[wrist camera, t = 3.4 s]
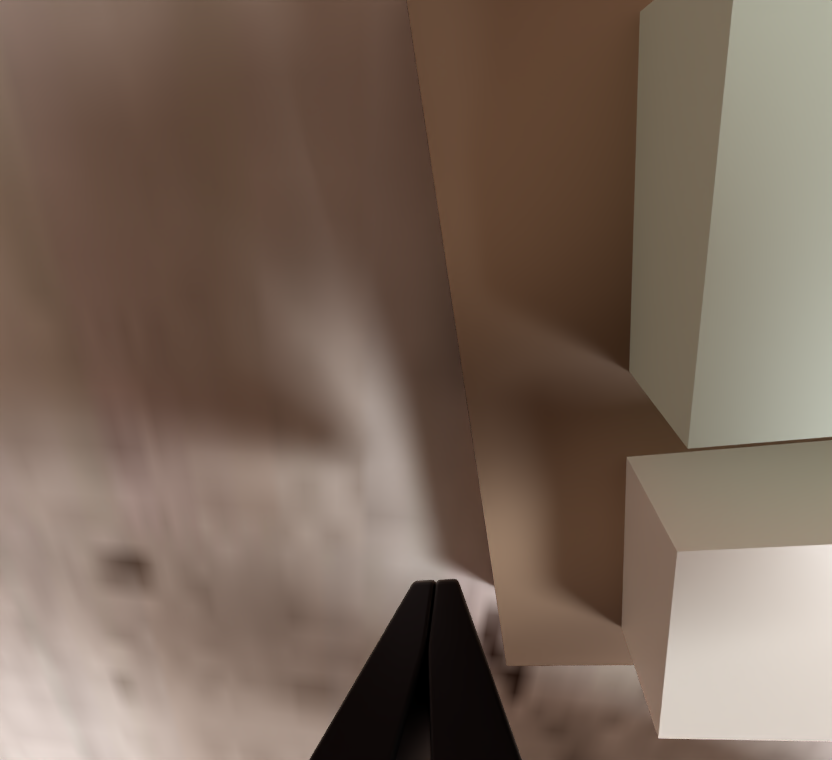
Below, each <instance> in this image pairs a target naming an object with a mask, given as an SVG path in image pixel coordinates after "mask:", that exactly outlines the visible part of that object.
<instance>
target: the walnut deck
mask: <svg viewBox="0 0 832 760" xmlns="http://www.w3.org/2000/svg"><path fill="white" fill-rule="evenodd" d="M406 1H407V7H408V14H409V21H410V27H411V34H412V41H413V47H414V54H415V61H416V67H417V74H418V81H419V87H420V94H421V101H422V107H423V114H424V120H425V127H426V134H427V140H428V147H429V154H430V160H431V167H432V174H433V180H434V187H435V194H436V200H437V207H438V214H439V220H440V227H441V234H442V240H443V247H444V253H445V260H446V267H447V273H448V280H449V287H450V293H451V300H452V307H453V313H454V320H455V327H456V333H457V340H458V347H459V353H460V360H461V367H462V373H463V380H464V386H465V393H466V400H467V406H468V413H469V420H470V426H471V433H472V440H473V446H474V453H475V460H476V466H477V473H478V480H479V486H480V493H481V500H482V506H483V513H484V519H485V526H486V533H487V539H488V546H489V553H490V559H491V566H492V573H493V579H494V586H495V593H496V599H497V606H498V613H499V619H500V626H501V633H502V639H503V646H504V653H505V659H506V666H553V665H634V663H633V660H632V657H631V654H630V651H629V648H628V645H627V642H626V639H625V636H624V633H623V630H622V596H623V562H624V528H625V495H626V461H627V457H632V456H644V455H656V454H669V453H681V452H693V451H705V450H717V449H730V448H742V447H754V446H766V445H778V444H791V443H803V442H815V441H827V440H832V437H822V438H810V439H798V440H786V441H774V442H762V443H750V444H738V445H726V446H713V447H701V448H689V449H688V448H687V447H686V446H685V444H684V443H683V442H682V441H681V439H680V438H679V437H678V435H677V434H676V433H675V431H674V430H673V429H672V427H671V426H670V425H669V423H668V422H667V421H666V419H665V418H664V417H663V415H662V414H661V413H660V411H659V410H658V409H657V407H656V406H655V405H654V404H653V402H652V401H651V400H650V398H649V397H648V396H647V394H646V393H645V392H644V390H643V389H642V388H641V386H640V385H639V384H638V382H637V381H636V380H635V378H634V377H633V376H632V374H631V373H630V372H629V361H630V327H631V294H632V260H633V227H634V193H635V160H636V126H637V93H638V59H639V25H640V11H642V10H643V9H644V8H645V7H646V6H648V5H649V4H650V3H651V2H652V1H654V0H406Z"/></svg>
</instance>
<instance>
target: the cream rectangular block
mask: <svg viewBox="0 0 832 760" xmlns="http://www.w3.org/2000/svg"><path fill="white" fill-rule="evenodd" d="M622 630H623V633H624V636H625V639H626V642H627V645H628V648H629V651H630V654H631V657H632V660H633V663H634V666H635V669H636V672H637V675H638V678H639V682H640V685H641V688H642V691H643V694H644V697H645V700H646V703H647V706H648V709H649V712H650V715H651V718H652V721H653V724H654V727H655V730H656V733H657V736H658V738H663V739H715V740H767V741H819V742H832V440H827V441H815V442H803V443H791V444H778V445H766V446H754V447H742V448H730V449H717V450H705V451H693V452H681V453H669V454H656V455H644V456H632V457H627V461H626V495H625V528H624V562H623V596H622Z"/></svg>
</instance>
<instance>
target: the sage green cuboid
mask: <svg viewBox="0 0 832 760" xmlns="http://www.w3.org/2000/svg"><path fill="white" fill-rule="evenodd" d="M629 372H630V373H631V374H632V376H633V377H634V378H635V380H636V381H637V382H638V384H639V385H640V386H641V388H642V389H643V390H644V392H645V393H646V394H647V396H648V397H649V398H650V400H651V401H652V402H653V404H654V405H655V406H656V407H657V409H658V410H659V411H660V413H661V414H662V415H663V417H664V418H665V419H666V421H667V422H668V423H669V425H670V426H671V427H672V429H673V430H674V431H675V433H676V434H677V435H678V437H679V438H680V439H681V441H682V442H683V443H684V444H685V446H686V447H687V448H688V449H689V448H701V447H713V446H726V445H738V444H750V443H762V442H774V441H786V440H798V439H810V438H822V437H832V0H654V1H652V2H651V3H650V4H649V5H648V6H646V7H645V8H644V9H643V10H642V11H640V25H639V59H638V93H637V126H636V160H635V193H634V227H633V260H632V294H631V327H630V361H629Z"/></svg>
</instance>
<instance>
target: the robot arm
mask: <svg viewBox="0 0 832 760" xmlns="http://www.w3.org/2000/svg"><path fill="white" fill-rule="evenodd" d="M310 760H522V759H521V756H520V753H519V750H518V747H517V745H516V742H515V739H514V736H513V733H512V730H511V728H510V725H509V722H508V719H507V716H506V714H505V711H504V708H503V705H502V702H501V699H500V697H499V694H498V691H497V688H496V685H495V683H494V680H493V677H492V674H491V671H490V669H489V666H488V663H487V660H486V657H485V654H484V652H483V649H482V646H481V643H480V640H479V638H478V635H477V632H476V629H475V626H474V623H473V621H472V618H471V615H470V612H469V609H468V607H467V604H466V601H465V598H464V595H463V592H462V590H461V587H460V584H459V582H458V580H456V579H445V580H438V581H437V582H435V581H434V580H421V581H415V582H414V583H413V584H412V585H411V587H410V589H409V590H408V592H407V594H406V595H405V597H404V599H403V601H402V602H401V604H400V606H399V607H398V609H397V611H396V613H395V614H394V616H393V618H392V619H391V621H390V623H389V625H388V626H387V628H386V630H385V631H384V633H383V635H382V636H381V638H380V640H379V642H378V643H377V645H376V647H375V648H374V650H373V652H372V654H371V655H370V657H369V659H368V660H367V662H366V664H365V666H364V667H363V669H362V671H361V672H360V674H359V676H358V678H357V679H356V681H355V683H354V684H353V686H352V688H351V689H350V691H349V693H348V695H347V696H346V698H345V700H344V701H343V703H342V705H341V707H340V708H339V710H338V712H337V713H336V715H335V717H334V719H333V720H332V722H331V724H330V725H329V727H328V729H327V730H326V732H325V734H324V736H323V737H322V739H321V741H320V742H319V744H318V746H317V748H316V749H315V751H314V753H313V754H312V756H311V758H310Z"/></svg>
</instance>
